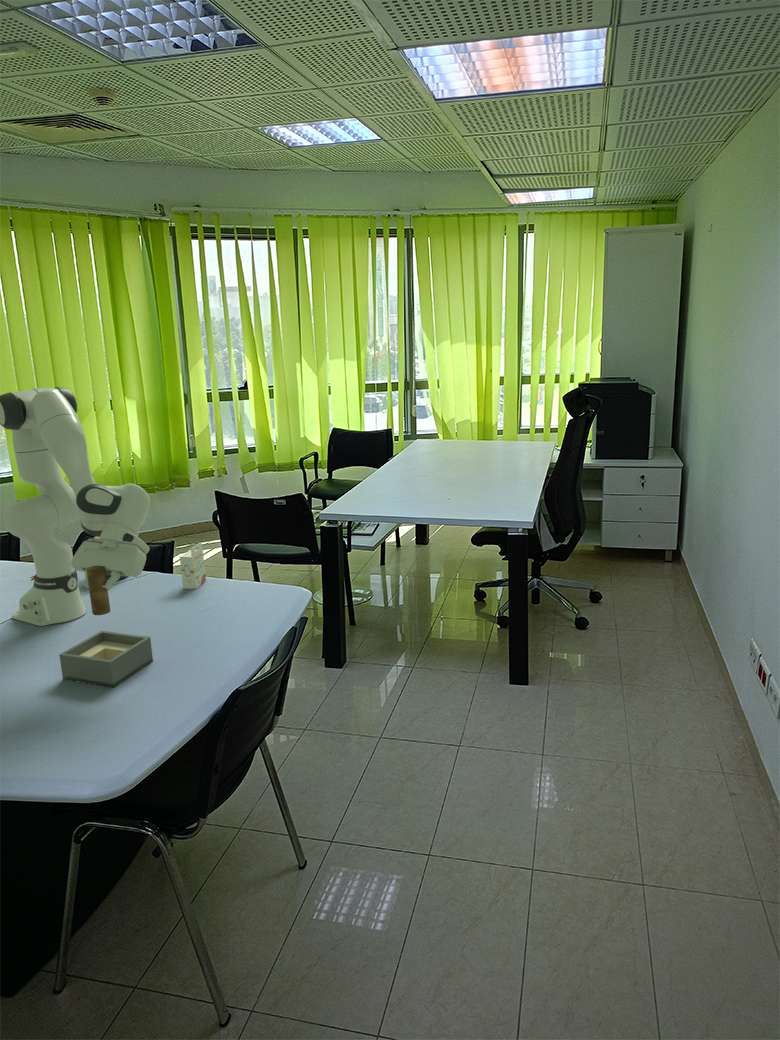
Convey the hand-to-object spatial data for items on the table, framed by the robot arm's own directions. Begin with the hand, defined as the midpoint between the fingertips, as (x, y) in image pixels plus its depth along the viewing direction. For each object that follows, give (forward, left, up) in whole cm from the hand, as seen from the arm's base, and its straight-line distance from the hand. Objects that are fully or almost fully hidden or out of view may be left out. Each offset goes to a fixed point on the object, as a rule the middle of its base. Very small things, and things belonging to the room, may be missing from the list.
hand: (96, 587), depth 194 cm
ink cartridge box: (-16, +65, -24) cm, 71 cm away
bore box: (0, +1, -23) cm, 23 cm away
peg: (0, +1, -7) cm, 7 cm away
